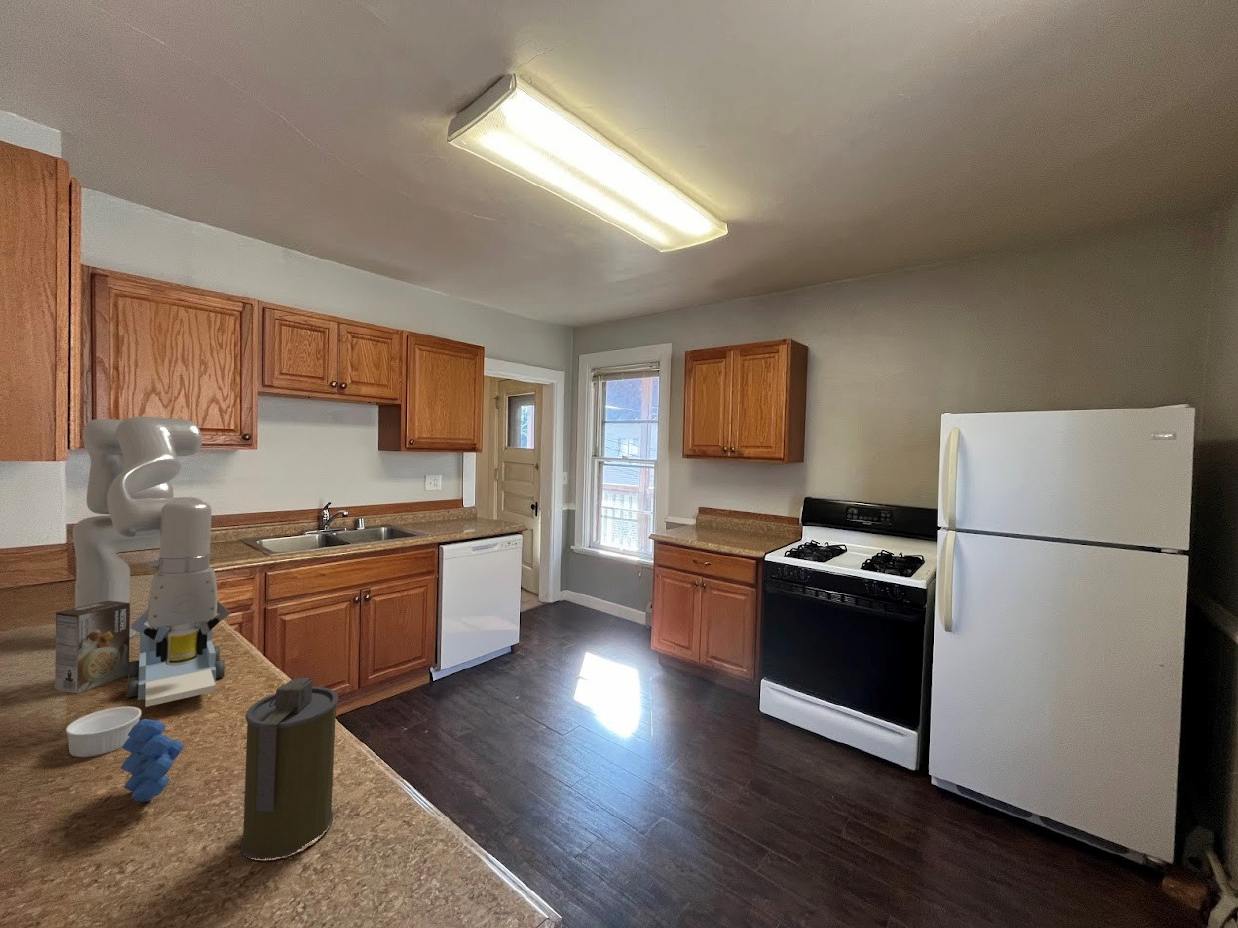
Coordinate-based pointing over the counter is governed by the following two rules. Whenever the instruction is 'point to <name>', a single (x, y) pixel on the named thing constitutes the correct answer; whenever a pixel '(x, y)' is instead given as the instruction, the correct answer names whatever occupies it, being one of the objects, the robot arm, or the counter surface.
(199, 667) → the pale blue toy cart
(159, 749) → the grapes
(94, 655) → the coffee box
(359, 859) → the counter surface
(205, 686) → the panel
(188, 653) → the supplement bottle
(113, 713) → the ramekin
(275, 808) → the canister
